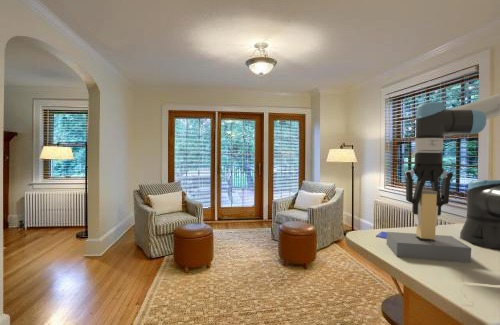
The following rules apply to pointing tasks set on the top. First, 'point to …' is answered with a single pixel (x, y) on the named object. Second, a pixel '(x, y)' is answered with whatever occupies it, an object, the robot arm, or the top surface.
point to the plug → (427, 214)
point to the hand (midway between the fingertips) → (425, 224)
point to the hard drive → (382, 235)
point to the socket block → (428, 247)
